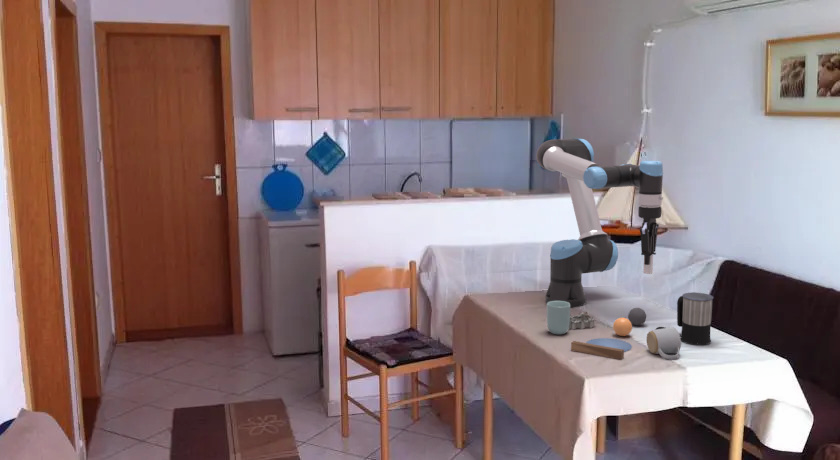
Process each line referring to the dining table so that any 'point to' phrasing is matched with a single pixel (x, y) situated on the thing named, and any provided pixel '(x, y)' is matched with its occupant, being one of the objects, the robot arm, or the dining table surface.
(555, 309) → the cup
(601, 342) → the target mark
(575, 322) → the egg carton
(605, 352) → the wall
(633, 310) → the dark gray ball
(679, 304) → the milk frother
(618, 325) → the terracotta ball
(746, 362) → the dining table surface
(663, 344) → the ceramic mug
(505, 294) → the dining table surface
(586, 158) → the robot arm
